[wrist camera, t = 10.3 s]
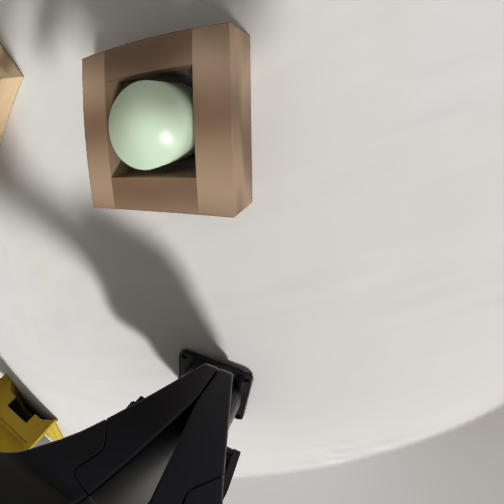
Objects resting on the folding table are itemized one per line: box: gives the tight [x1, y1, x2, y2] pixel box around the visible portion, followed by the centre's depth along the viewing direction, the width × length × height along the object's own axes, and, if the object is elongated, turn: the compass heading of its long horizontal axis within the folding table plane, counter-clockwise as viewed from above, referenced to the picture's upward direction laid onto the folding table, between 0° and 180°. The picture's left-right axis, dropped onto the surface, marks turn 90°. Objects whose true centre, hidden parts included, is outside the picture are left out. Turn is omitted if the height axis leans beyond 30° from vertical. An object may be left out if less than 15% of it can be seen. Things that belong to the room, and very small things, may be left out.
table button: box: [109, 80, 195, 170], centre depth 17 cm, size 5×5×3 cm
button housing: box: [82, 23, 252, 218], centre depth 17 cm, size 10×10×3 cm
